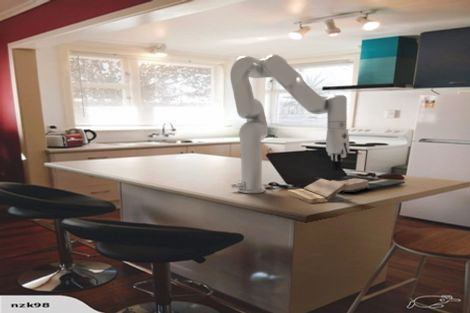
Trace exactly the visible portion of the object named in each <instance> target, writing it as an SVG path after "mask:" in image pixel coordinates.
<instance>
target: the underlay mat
mask: <svg viewBox="0 0 470 313" xmlns="http://www.w3.org/2000/svg"><path fill="white" fill-rule="evenodd" d="M325 200H326V199H325ZM345 200H351V198H350V197H346V196H343V195H340V194H339V193H337V194H336V195H335V196H333V197H332V198H330V199H329V200H328V201H327V202H329V203H330V202H336V201H345ZM327 202H326V203H327ZM309 204H312V203H309Z"/></svg>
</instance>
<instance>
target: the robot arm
mask: <svg viewBox="0 0 470 313" xmlns="http://www.w3.org/2000/svg"><path fill="white" fill-rule="evenodd" d="M229 76H230V82H231V88H232V92H233V97H234V102H235V103H234V104H235V106H236V107H235V108H236V112H237V115H238V116H239V117H240V118H241V119H243V120H244V119H245V120H246V122H245V123H243V125H241V126H240V129H239V133H238V134H239V137H238V138H239V144H240V180H239V181H238V182H233V183H231V184H230V187H231V188H233V189H234V188H236V189H237V191H238V192H239V193H243V194H261V193H264V192H266V187H264V186H263V149H262V148H263V147H262V142H261V141H264V140H265V139H266V138H267V136H268V133H269V127H268V122H267V118H266V113H265V109H264V106H263V104H262V102H261V101H260V100H258V99H257V98H254V97H255V96H254V92H253V88H252V84H251V82H250V78H252V79H263V78H273V80H275V81H276V82H277V83H278V84H280V85H281V87H283V89H284V90H286V92H287V93H288V94H289V95H291V97H292V98H293V99H294V100H296V102H297V103H298V104H300V105H301V107H303V109H305V111H307V112H308V113H310V114H314V115H322V114H327V115H326V116H327V118H326V119H327V120H326V122H327V126H326V127H327V128H326V129H327V130H326V136H325V138H326V140H325V151H326V152H327V155H328V156H329V157H330V160H331V164H332V166H331V167H332V168H331V171H332V172H333V171H334V172H340V171H342V161H343V158H347V154H349V153H350V137H349V136H350V135H349V130H348V128H347V118H348V116H347V115H348V114H347V113H348V111H347V109H348V108H347V105H348V104H347V102H348V101H347V99H348V98H347V96H346V95H343V94H337V95H336V94H335V95H334V94H333V95H329V96H322V95H319V94H318V93H317V92H316V91H315V90H314V89H312V87H310V85H308V83H306V81H305V80H304V78H303V76H302V75H301V73H299V72H298V71H297V70H296V69H295V68H293V66H292V65H290V64H289V63H288V62H287V60H286V59H285V58H284V57H283V56H280V55H278V54H270V55H268V56H267V57H266V58H261V59H260V58H259V59H257V58H255V57H253V56H250V55H243V56H239V57H238V58H237V59H236V60H235V61H234V62H233V64H232V66H231V69H230V73H229Z"/></svg>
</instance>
